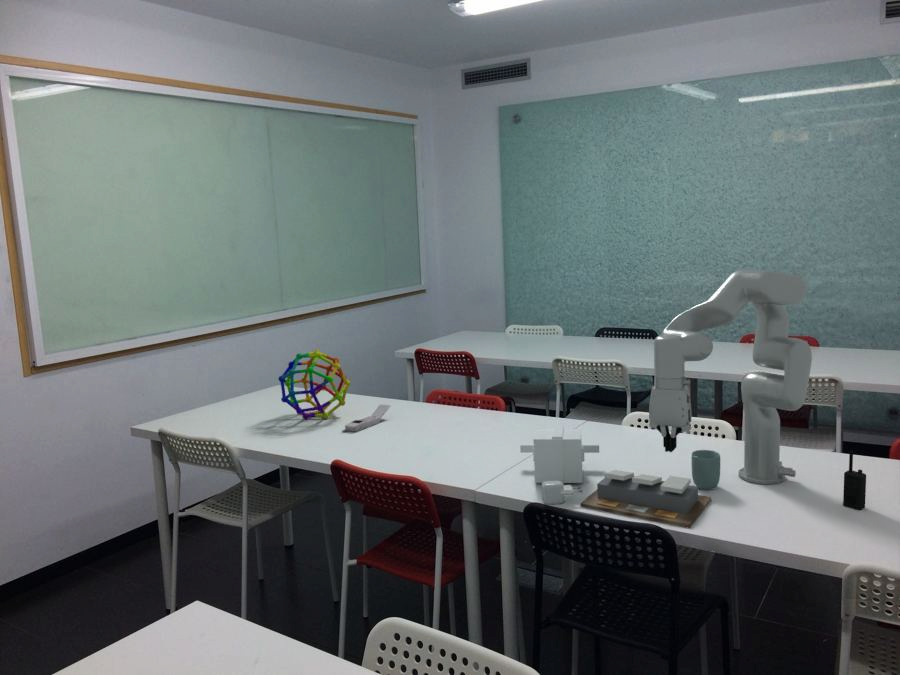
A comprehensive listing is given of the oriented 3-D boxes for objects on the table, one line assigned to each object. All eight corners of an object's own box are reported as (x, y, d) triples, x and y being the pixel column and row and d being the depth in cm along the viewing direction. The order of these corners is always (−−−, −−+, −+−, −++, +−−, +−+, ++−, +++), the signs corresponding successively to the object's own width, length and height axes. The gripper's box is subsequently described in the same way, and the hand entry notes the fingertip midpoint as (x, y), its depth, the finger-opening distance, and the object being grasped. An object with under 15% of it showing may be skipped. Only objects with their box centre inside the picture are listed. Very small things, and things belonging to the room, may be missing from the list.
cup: (688, 482, 210) (688, 450, 209) (716, 482, 209) (716, 449, 208) (695, 492, 203) (695, 458, 201) (723, 492, 202) (723, 458, 200)
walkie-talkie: (866, 507, 186) (868, 452, 184) (859, 511, 184) (861, 455, 182) (847, 502, 190) (848, 448, 188) (840, 505, 188) (842, 451, 186)
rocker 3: (690, 483, 194) (690, 478, 194) (681, 493, 187) (681, 489, 187) (670, 479, 197) (670, 475, 197) (660, 490, 191) (660, 485, 190)
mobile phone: (391, 405, 298) (350, 419, 278) (392, 418, 299) (351, 434, 279) (380, 403, 302) (339, 418, 282) (382, 417, 303) (340, 432, 283)
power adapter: (580, 497, 204) (580, 477, 203) (583, 504, 199) (583, 484, 198) (541, 499, 204) (541, 479, 203) (543, 506, 199) (543, 486, 198)
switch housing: (698, 500, 194) (698, 484, 194) (687, 513, 186) (687, 496, 186) (611, 485, 209) (610, 470, 208) (597, 497, 201) (597, 481, 200)
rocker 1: (633, 477, 203) (634, 472, 203) (623, 480, 196) (623, 476, 196) (615, 474, 206) (615, 469, 206) (604, 477, 200) (604, 473, 200)
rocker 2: (661, 481, 198) (661, 477, 198) (651, 485, 192) (652, 480, 192) (642, 478, 202) (642, 474, 202) (631, 481, 195) (632, 477, 195)
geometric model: (369, 357, 309) (312, 336, 320) (330, 369, 282) (270, 345, 293) (355, 421, 316) (300, 398, 327) (316, 438, 289) (258, 413, 300)
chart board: (711, 500, 196) (711, 496, 196) (690, 528, 180) (689, 523, 180) (608, 482, 213) (608, 478, 213) (580, 506, 197) (580, 502, 197)
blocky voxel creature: (599, 461, 238) (601, 486, 210) (524, 461, 242) (516, 485, 215) (597, 418, 236) (599, 437, 209) (522, 418, 241) (515, 437, 214)
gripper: (702, 381, 184) (702, 450, 187) (646, 377, 193) (647, 442, 196) (694, 388, 178) (694, 458, 181) (636, 383, 186) (637, 450, 189)
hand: (670, 450), depth 188 cm, fingers closed
